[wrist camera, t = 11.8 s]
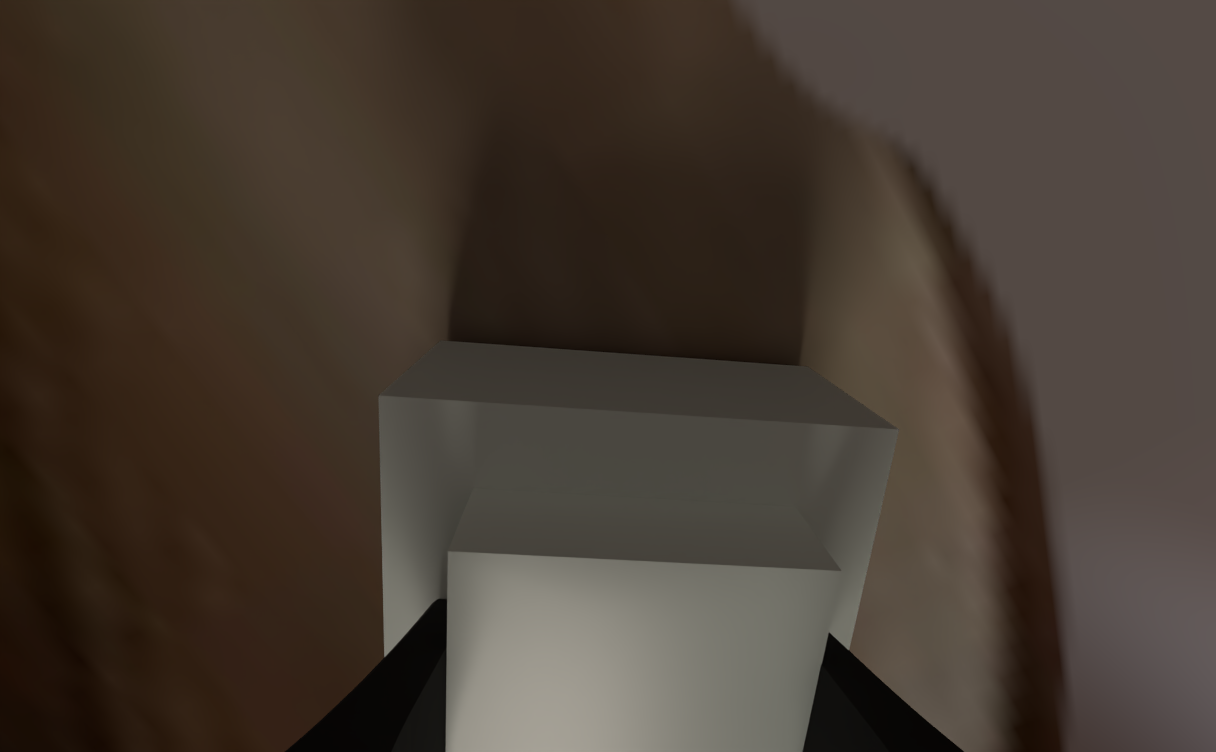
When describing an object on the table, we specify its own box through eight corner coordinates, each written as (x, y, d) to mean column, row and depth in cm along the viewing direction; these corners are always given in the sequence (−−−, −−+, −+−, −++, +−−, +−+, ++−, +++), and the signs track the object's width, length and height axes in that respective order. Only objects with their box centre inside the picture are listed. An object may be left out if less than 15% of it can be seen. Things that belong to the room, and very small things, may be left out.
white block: (438, 654, 16) (351, 919, 10) (440, 340, 14) (328, 440, 8) (754, 667, 17) (851, 926, 11) (807, 366, 15) (971, 479, 8)
